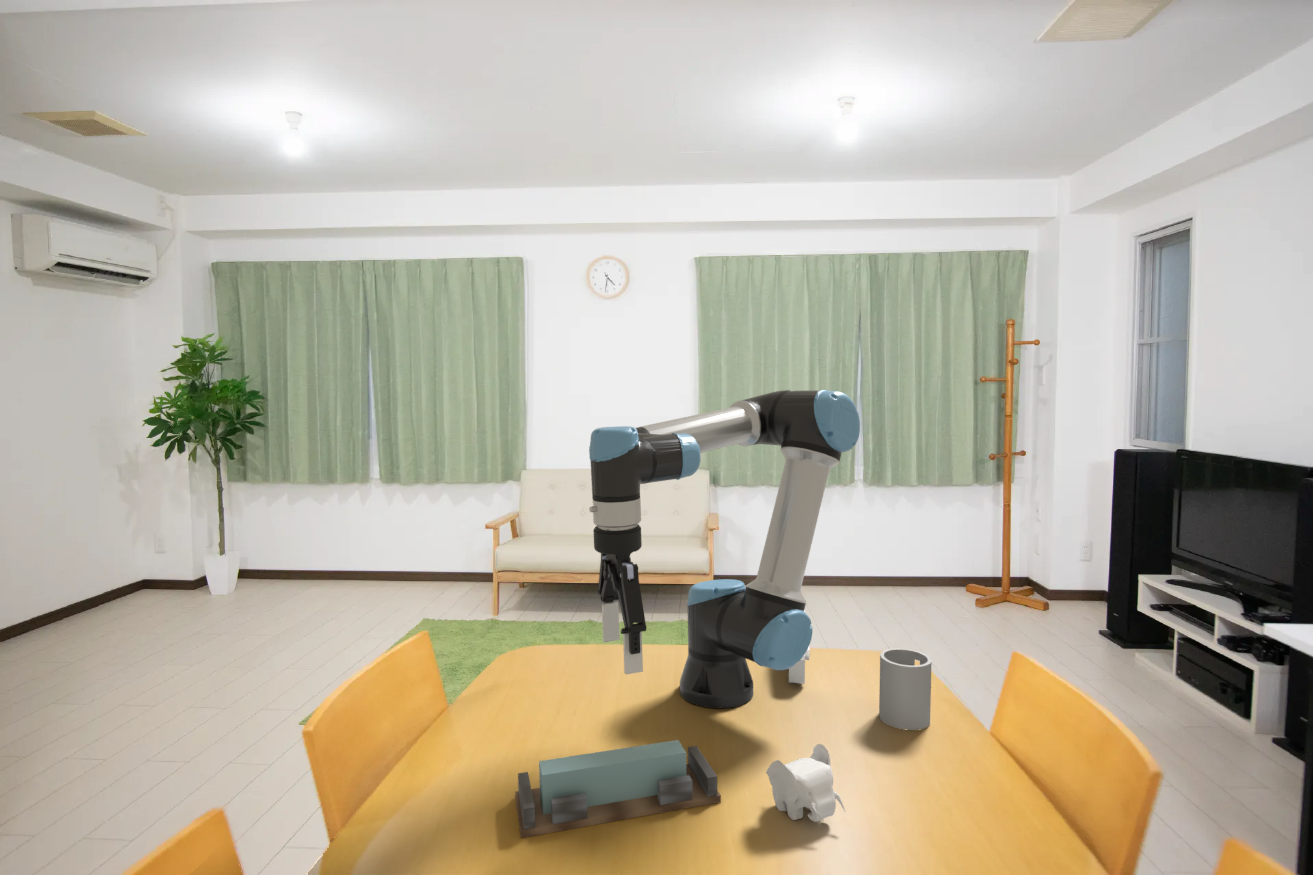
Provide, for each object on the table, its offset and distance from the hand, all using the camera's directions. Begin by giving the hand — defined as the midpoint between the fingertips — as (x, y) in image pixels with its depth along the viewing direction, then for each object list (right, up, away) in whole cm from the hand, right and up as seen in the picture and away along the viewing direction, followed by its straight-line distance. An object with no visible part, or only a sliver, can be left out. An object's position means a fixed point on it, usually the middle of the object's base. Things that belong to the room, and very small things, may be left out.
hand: (621, 655), depth 112 cm
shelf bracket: (+37, -17, +46) cm, 62 cm away
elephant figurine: (+28, -21, -8) cm, 36 cm away
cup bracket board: (0, -21, -5) cm, 21 cm away
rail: (-1, -20, -5) cm, 20 cm away
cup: (+52, -19, +21) cm, 59 cm away
